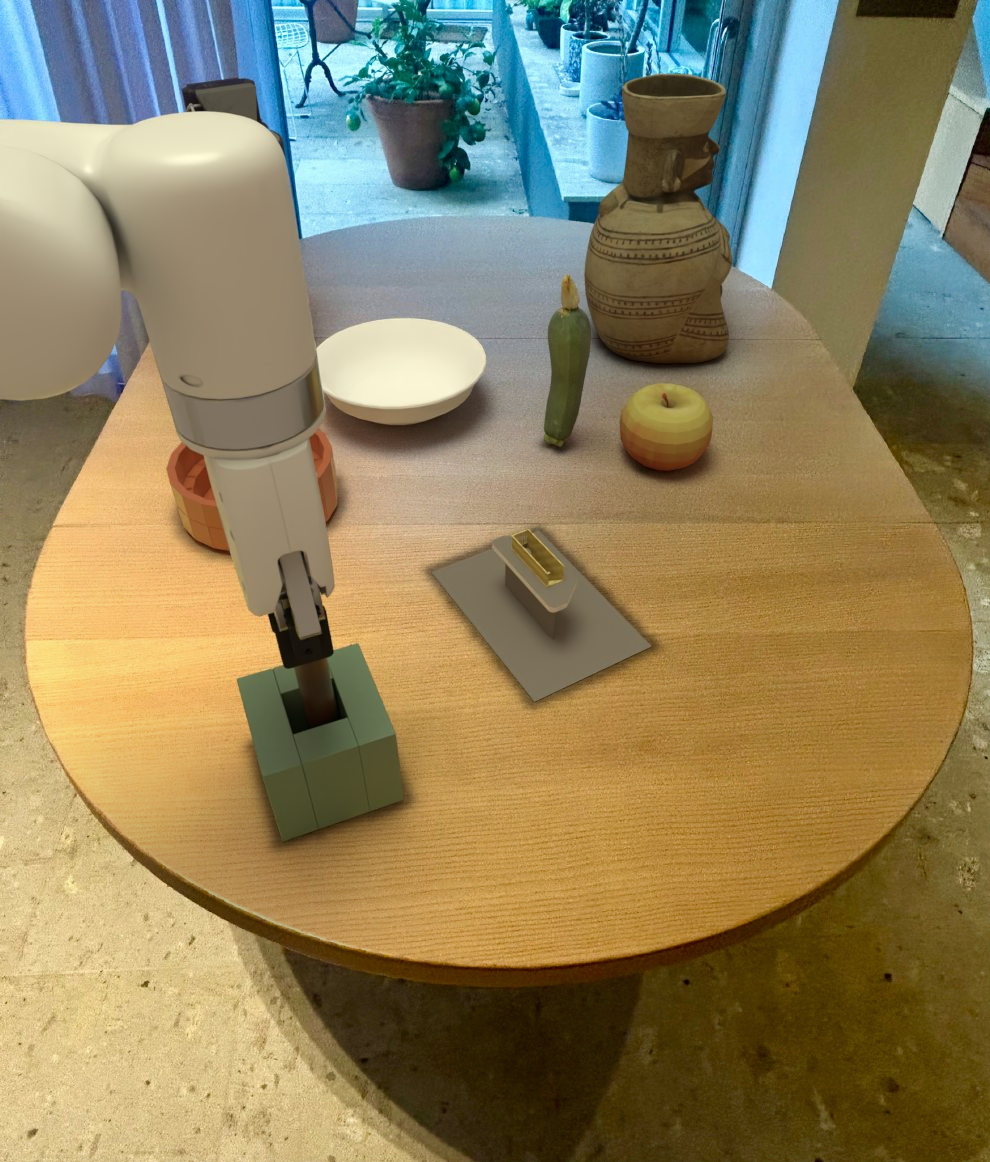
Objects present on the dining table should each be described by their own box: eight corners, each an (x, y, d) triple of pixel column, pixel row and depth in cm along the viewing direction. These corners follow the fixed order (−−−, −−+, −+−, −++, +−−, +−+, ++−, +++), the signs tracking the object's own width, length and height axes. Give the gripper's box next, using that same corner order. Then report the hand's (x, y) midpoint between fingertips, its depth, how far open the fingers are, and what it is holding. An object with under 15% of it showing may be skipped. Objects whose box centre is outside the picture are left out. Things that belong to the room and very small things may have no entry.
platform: (538, 530, 87) (541, 476, 83) (651, 646, 76) (661, 591, 72) (431, 572, 83) (427, 517, 78) (534, 701, 72) (537, 646, 67)
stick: (322, 786, 66) (277, 593, 52) (315, 763, 67) (270, 570, 54) (351, 777, 66) (314, 583, 53) (343, 754, 68) (305, 560, 54)
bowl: (518, 426, 101) (519, 376, 96) (356, 477, 94) (349, 426, 89) (440, 350, 113) (438, 303, 109) (292, 390, 106) (283, 341, 102)
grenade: (208, 329, 117) (148, 76, 97) (293, 308, 122) (253, 62, 101) (240, 376, 109) (182, 108, 88) (331, 352, 113) (296, 92, 92)
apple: (599, 463, 96) (605, 398, 90) (641, 421, 102) (649, 358, 96) (682, 494, 92) (694, 429, 86) (721, 449, 98) (734, 385, 92)
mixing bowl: (195, 573, 83) (179, 524, 79) (172, 480, 93) (157, 432, 89) (357, 532, 87) (350, 483, 83) (317, 448, 98) (309, 401, 93)
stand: (282, 842, 62) (262, 777, 57) (256, 745, 69) (236, 678, 63) (404, 800, 65) (395, 733, 60) (368, 710, 71) (358, 642, 66)
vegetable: (561, 429, 100) (572, 256, 87) (590, 445, 98) (606, 270, 84) (534, 445, 98) (541, 270, 84) (563, 461, 96) (575, 284, 82)
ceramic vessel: (747, 318, 120) (799, 69, 99) (703, 393, 106) (754, 121, 85) (614, 291, 126) (638, 51, 105) (556, 358, 112) (570, 97, 91)
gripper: (149, 335, 49) (221, 578, 61) (195, 503, 38) (271, 757, 51) (284, 310, 51) (327, 551, 63) (364, 463, 40) (397, 716, 53)
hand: (302, 640), depth 57 cm, fingers closed
